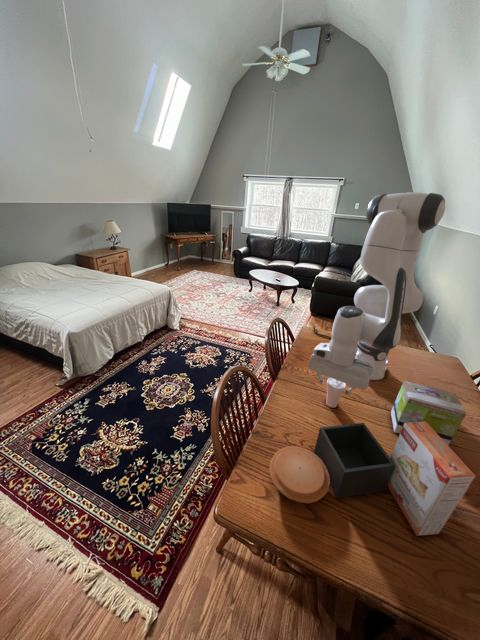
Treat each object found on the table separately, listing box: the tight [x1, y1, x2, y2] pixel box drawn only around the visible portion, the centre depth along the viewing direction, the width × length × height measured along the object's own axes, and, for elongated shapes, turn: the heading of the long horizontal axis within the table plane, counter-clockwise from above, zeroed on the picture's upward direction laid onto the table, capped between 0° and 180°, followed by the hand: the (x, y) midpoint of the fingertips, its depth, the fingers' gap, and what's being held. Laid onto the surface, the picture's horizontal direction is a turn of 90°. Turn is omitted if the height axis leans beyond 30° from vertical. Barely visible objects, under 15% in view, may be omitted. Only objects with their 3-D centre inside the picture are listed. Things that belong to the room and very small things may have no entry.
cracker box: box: [386, 422, 476, 537], centre depth 62 cm, size 14×6×21 cm, turn 5°
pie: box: [268, 445, 331, 505], centre depth 70 cm, size 16×16×5 cm
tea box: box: [390, 380, 467, 446], centre depth 85 cm, size 15×10×15 cm, turn 68°
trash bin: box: [313, 422, 395, 499], centre depth 72 cm, size 14×14×10 cm
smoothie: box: [325, 377, 347, 409], centre depth 95 cm, size 6×6×14 cm
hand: (334, 388), depth 95 cm, fingers open, 8 cm apart
